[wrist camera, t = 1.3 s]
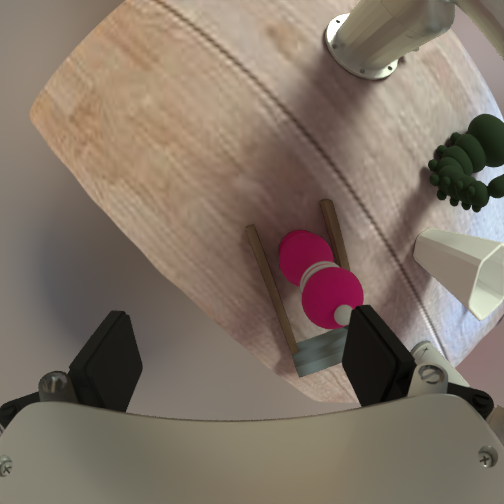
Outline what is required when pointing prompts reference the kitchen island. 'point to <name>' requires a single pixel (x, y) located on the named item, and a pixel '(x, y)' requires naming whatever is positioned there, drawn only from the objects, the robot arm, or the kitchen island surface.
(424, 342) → the travel mug
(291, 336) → the guide channel
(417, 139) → the kitchen island surface
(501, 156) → the toy figurine
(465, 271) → the cup
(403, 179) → the kitchen island surface
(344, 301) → the pepper mill
